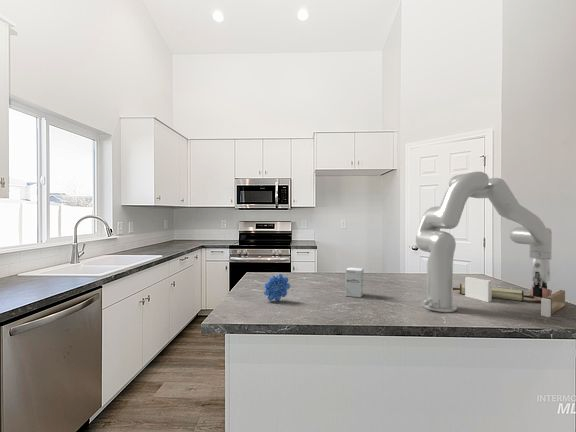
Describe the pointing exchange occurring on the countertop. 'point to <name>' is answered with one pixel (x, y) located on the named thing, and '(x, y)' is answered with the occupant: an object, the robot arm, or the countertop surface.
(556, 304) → the door
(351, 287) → the supplement box
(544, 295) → the block
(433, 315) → the countertop surface
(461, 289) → the rolling pin
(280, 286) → the grapes
